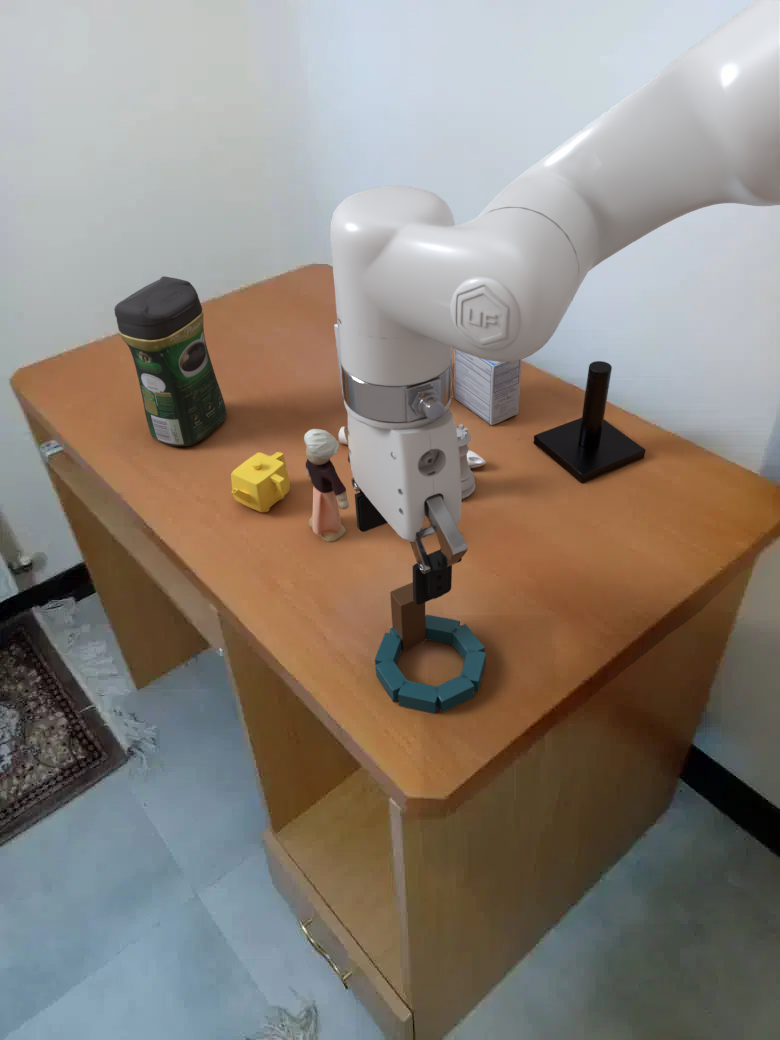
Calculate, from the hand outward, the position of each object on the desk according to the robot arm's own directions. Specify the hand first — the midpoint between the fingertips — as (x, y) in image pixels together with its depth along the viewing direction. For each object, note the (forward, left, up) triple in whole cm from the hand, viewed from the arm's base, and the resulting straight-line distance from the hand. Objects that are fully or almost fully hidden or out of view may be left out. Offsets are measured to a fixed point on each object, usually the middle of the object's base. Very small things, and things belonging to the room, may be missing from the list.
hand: (402, 558), depth 66 cm
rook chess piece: (+16, -15, -10) cm, 24 cm away
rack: (+14, -32, -10) cm, 36 cm away
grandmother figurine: (+17, 0, -10) cm, 20 cm away
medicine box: (+28, -27, -10) cm, 40 cm away
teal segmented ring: (-4, 0, -10) cm, 11 cm away
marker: (+24, -14, -10) cm, 30 cm away
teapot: (+25, +4, -10) cm, 27 cm away
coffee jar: (+44, +7, -10) cm, 46 cm away
